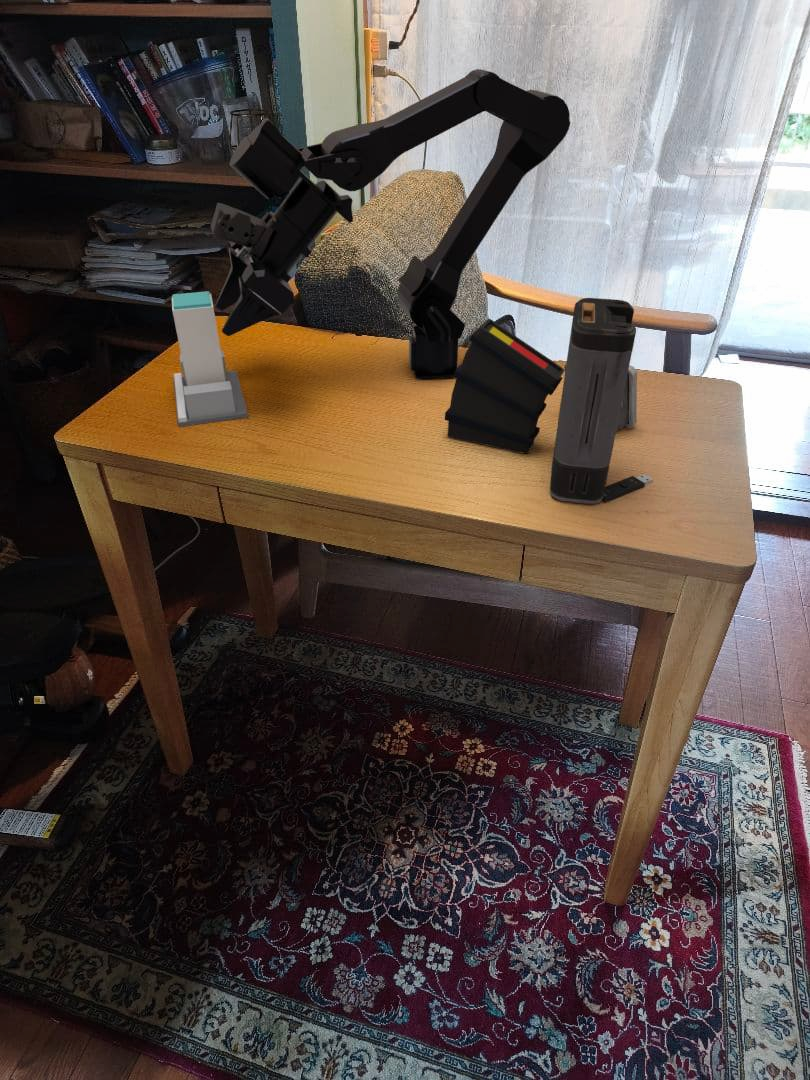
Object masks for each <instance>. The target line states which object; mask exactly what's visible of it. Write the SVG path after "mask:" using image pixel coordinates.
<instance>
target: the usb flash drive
mask: <svg viewBox="0 0 810 1080" xmlns="http://www.w3.org/2000/svg"><path fill="white" fill-rule="evenodd" d="M653 481H654V478H652V477H651V476H649V475H648V474H645V473H644V474H641V475H638V476H636V477H635V476H634V475H632V476H628V477H627V478H623V479H621V480H618V481H616V482H613V483H611V484H609V485H605V490H604V495H603V499H602V500H601V501H600V502H602V503H603V504H606V503H609V502H611V501H613V500H616V499H618V498H621V497H623V496H626V495H628V494H631V493H634V492H636V491H639V490H641V489H644V488H645V486H646V485H648V484H651V483H653Z"/></svg>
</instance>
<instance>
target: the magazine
mask: <svg viewBox="0 0 810 1080" xmlns="http://www.w3.org/2000/svg"><path fill="white" fill-rule="evenodd" d="M468 341H470V342H471V343H470V345H469V346H468V348H467V350H466V351H465V353H464V356H463V359H462V362H461V363H460V365H459V366H457V369H456V370H455V372H454V375H453V377H452V378H453V379H455V382H454V386H453V388H452V389H453V390H452V392H451V397H450V406H449V407H448V409H446V411H444V412H445V413H444V421H447V422H448V423H447V424H448V425H447V437H449V438H453V439H457V440H461V441H467V442H469V443H470V442H471V443H476V444H480V445H483V446H488V447H489V446H490V447H494V448H498V449H503V450H507V451H512V452H516V453H521V454H529V452H530V450H531V449H532V447H533V445H534V444H535V440H536V438H537V437H538V436H539V435H538V434H539V433H540V429H541V428H540V427H539V426H537V425H538V421H539V419H540V417H541V415H542V414H543V412H544V410H545V409H546V408H547V403H546V399H547V398H548V395H549V396H552V395H553V393H555V391H556V389H557V388H558V386H559V385H560V383H561V382H562V380H564V377H562V376H563V374H565V368H563V367H562V366H560V365H559V364H558V363H556V362H555V361H553V360H552V359H550V358H549V357H547V356H546V355H545V354H543V353H541V352H540V351H539V350H537V349H535V348H534V347H532V346H531V345H529V344H528V343H527V342H526V341H523V340H522V339H521V338H519V337H517V336H516V335H515V334H513V333H512V332H510V331H509V330H508V329H506V328H504V327H503V326H501V325H500V324H498V323H497V322H496V321H494V320H493V319H491V318H487V319H486V320H485V321H484V322H483V323H482V324H481V325H480V326H479V327H478V328H477V329H476V330H474V332H473V333H472V334H471V335H470V338H469V339H468Z"/></svg>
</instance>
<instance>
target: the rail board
mask: <svg viewBox="0 0 810 1080" xmlns="http://www.w3.org/2000/svg"><path fill="white" fill-rule="evenodd" d="M220 350H221V356H222V363H223V369H224V375H225V382H217V383H209V384H201V385H193V386H187V381H186V376H185V371H184V366H183V361H182V356H181V354H179V361H180V367H181V371H182V372H178V373H177V372H176V373H174V374H173V385H174V386H173V387H174V389H173V390H174V398H175V399H174V400H175V407H176V408H175V410H176V418H177V425H178V426H177V427H180V428H181V427H186V426H193V425H200V424H209V423H217V422H224V421H225V422H226V421H231V420H232V421H233V420H239V419H247V418H249V415H248V411H247V406H246V403H245V399H244V395H243V391H242V387H241V383H240V379H239V376H238V372H237V370H228V371H227V366H226V359H225V354H224V350H223V349H220Z"/></svg>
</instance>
